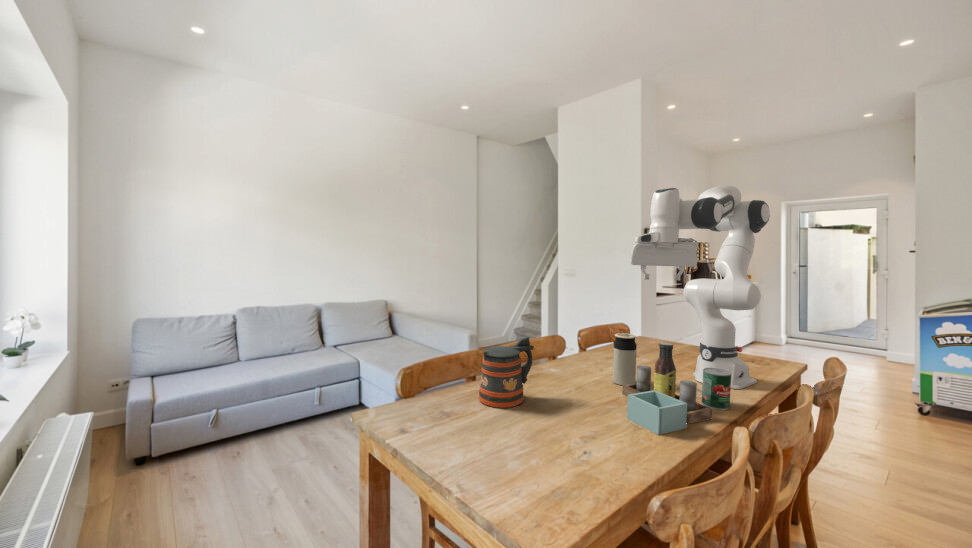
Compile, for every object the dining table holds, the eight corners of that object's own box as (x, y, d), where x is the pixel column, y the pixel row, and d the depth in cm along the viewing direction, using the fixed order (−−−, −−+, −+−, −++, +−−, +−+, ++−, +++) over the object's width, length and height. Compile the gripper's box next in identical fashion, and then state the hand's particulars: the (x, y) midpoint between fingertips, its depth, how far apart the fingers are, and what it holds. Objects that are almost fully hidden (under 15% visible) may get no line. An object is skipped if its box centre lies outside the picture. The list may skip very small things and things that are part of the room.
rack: (644, 390, 141) (645, 362, 141) (712, 418, 117) (713, 385, 117) (622, 393, 137) (623, 365, 137) (687, 424, 113) (689, 389, 113)
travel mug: (612, 385, 146) (614, 336, 145) (612, 378, 154) (614, 332, 153) (636, 387, 144) (637, 338, 143) (634, 380, 152) (636, 333, 151)
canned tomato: (724, 411, 123) (725, 376, 122) (697, 404, 129) (698, 370, 128) (733, 405, 128) (735, 371, 127) (707, 398, 134) (709, 366, 133)
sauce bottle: (671, 411, 123) (674, 347, 122) (650, 406, 127) (652, 344, 125) (676, 404, 128) (679, 343, 127) (656, 400, 132) (658, 340, 131)
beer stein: (516, 387, 143) (517, 331, 142) (543, 400, 130) (544, 339, 129) (470, 397, 133) (471, 337, 131) (494, 412, 120) (495, 346, 119)
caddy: (653, 412, 121) (654, 390, 121) (686, 428, 111) (687, 403, 110) (626, 418, 117) (627, 394, 117) (658, 434, 106) (659, 409, 106)
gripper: (695, 238, 131) (693, 280, 132) (630, 237, 136) (628, 278, 137) (701, 237, 125) (699, 281, 126) (632, 236, 130) (630, 279, 131)
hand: (661, 280), depth 131 cm, fingers open, 8 cm apart
